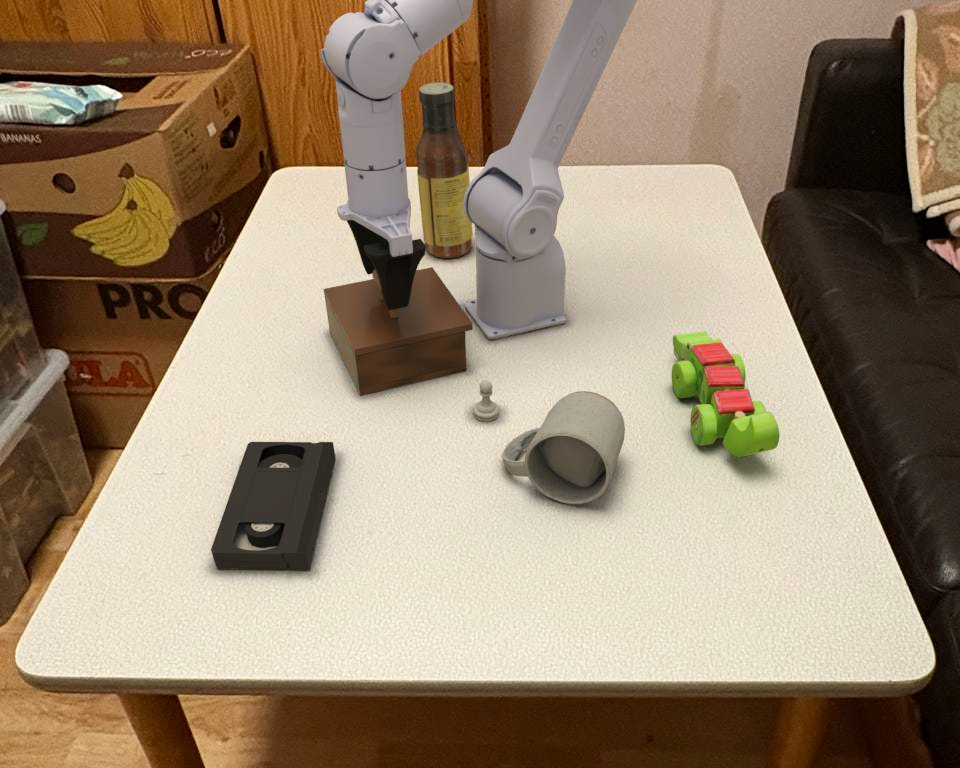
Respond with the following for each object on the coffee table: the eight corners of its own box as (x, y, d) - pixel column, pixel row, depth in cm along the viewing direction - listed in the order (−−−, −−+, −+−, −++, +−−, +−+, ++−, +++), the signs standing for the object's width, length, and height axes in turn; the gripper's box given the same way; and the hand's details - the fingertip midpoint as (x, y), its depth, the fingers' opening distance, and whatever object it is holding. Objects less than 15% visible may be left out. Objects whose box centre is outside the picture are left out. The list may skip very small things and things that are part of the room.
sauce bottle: (482, 244, 117) (479, 84, 103) (455, 265, 113) (449, 101, 100) (439, 232, 119) (432, 74, 106) (412, 252, 115) (400, 91, 102)
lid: (432, 273, 102) (431, 238, 99) (472, 330, 93) (472, 293, 90) (324, 295, 98) (319, 259, 96) (355, 356, 90) (350, 319, 87)
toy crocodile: (658, 358, 97) (665, 309, 93) (719, 354, 97) (729, 305, 93) (709, 481, 82) (720, 429, 78) (781, 476, 83) (796, 423, 79)
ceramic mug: (625, 455, 85) (632, 388, 80) (606, 513, 79) (612, 444, 74) (517, 435, 88) (516, 369, 83) (491, 490, 82) (489, 422, 77)
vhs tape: (252, 457, 86) (248, 441, 84) (335, 458, 85) (333, 441, 84) (214, 569, 75) (209, 552, 74) (309, 570, 75) (306, 553, 74)
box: (428, 312, 105) (426, 275, 101) (466, 371, 96) (465, 332, 93) (329, 333, 102) (324, 295, 98) (360, 395, 93) (355, 356, 90)
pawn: (486, 425, 89) (486, 392, 86) (467, 414, 90) (466, 381, 88) (504, 413, 90) (505, 380, 88) (485, 403, 92) (485, 370, 89)
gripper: (314, 137, 88) (331, 263, 97) (353, 197, 78) (368, 332, 87) (384, 126, 90) (394, 251, 99) (431, 183, 80) (437, 317, 89)
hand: (386, 288), depth 93 cm, fingers open, 7 cm apart
